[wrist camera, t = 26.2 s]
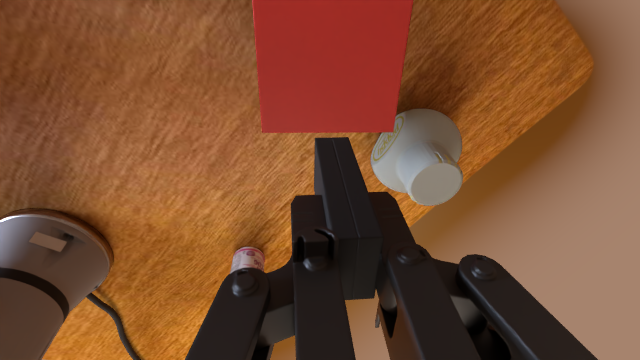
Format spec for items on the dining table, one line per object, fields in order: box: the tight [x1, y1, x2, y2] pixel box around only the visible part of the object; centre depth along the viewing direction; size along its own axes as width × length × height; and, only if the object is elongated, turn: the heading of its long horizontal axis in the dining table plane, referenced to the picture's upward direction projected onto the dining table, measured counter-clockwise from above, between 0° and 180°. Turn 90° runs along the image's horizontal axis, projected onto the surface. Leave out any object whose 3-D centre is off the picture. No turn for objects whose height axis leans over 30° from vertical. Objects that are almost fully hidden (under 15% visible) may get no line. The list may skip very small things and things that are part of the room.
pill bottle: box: [230, 247, 265, 273], centre depth 50 cm, size 5×5×8 cm
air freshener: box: [371, 109, 463, 206], centre depth 40 cm, size 11×8×10 cm
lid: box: [252, 0, 413, 133], centre depth 29 cm, size 12×16×1 cm
